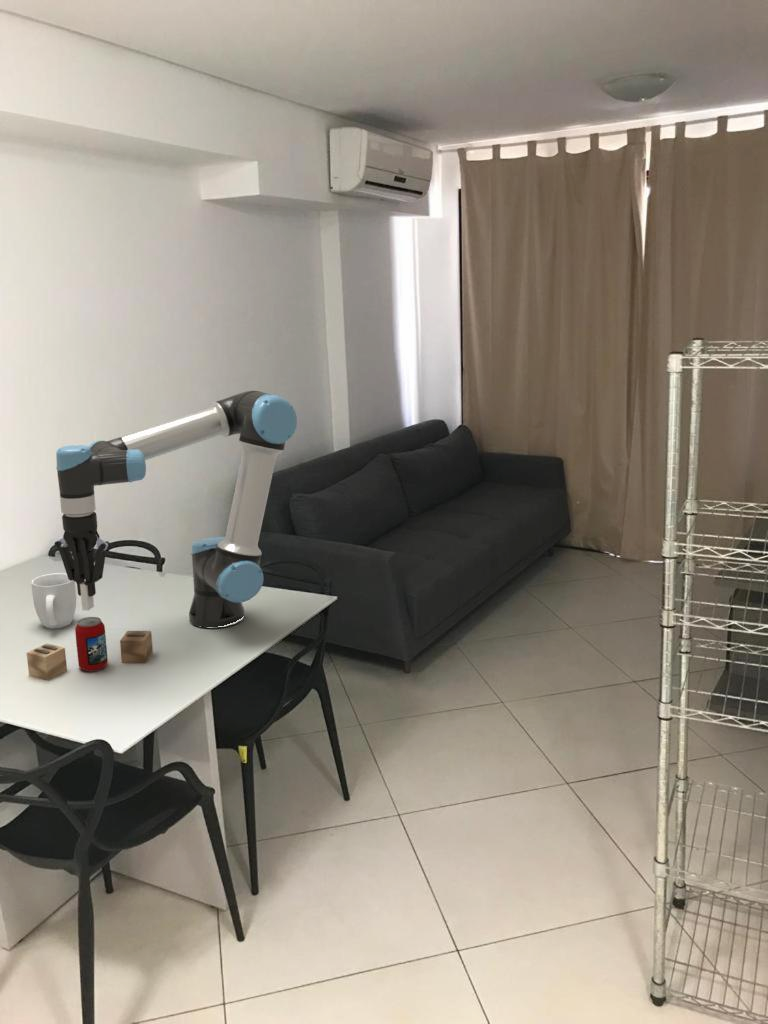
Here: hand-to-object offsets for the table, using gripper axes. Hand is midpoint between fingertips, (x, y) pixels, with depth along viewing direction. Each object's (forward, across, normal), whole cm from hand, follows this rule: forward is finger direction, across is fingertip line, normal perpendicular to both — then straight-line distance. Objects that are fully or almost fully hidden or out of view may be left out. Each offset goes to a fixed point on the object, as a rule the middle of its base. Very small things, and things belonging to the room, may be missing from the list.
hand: (88, 608), depth 199 cm
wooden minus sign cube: (+15, -8, -7) cm, 19 cm away
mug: (+15, +23, -22) cm, 35 cm away
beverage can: (+15, 0, 0) cm, 15 cm away
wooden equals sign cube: (+15, +9, +5) cm, 19 cm away
